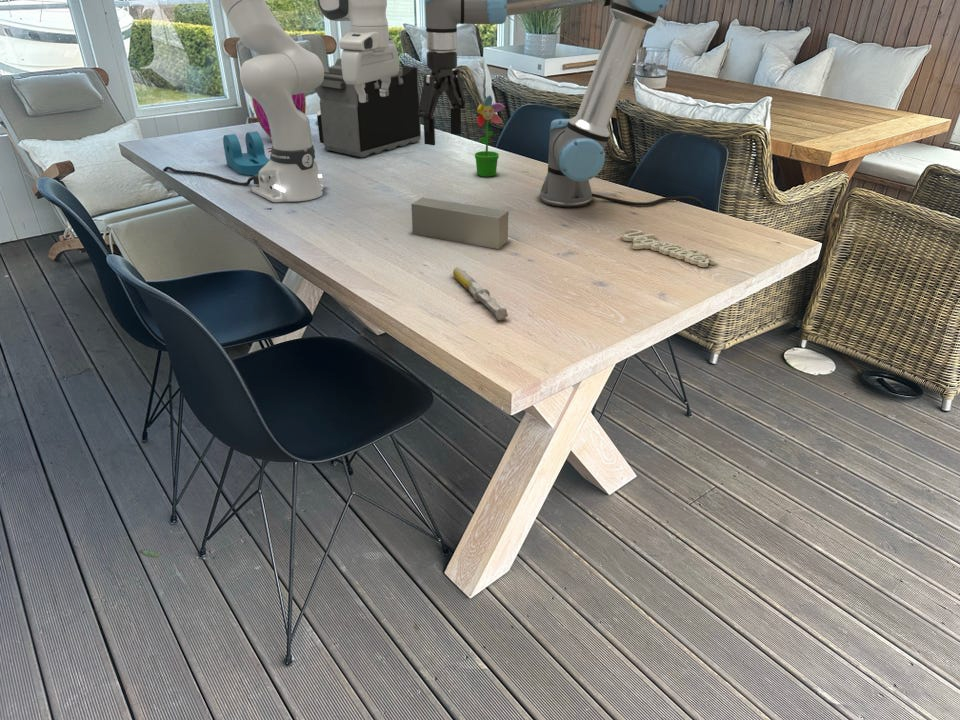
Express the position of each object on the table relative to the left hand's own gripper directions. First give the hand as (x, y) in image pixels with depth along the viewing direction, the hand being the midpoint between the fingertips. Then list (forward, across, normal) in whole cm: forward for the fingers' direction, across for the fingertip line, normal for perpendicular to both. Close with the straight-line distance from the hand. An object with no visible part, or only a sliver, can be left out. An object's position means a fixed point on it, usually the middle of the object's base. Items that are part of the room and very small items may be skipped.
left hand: (374, 99), depth 172 cm
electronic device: (+31, -68, -48) cm, 89 cm away
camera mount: (+31, -23, -66) cm, 76 cm away
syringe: (+31, +33, +45) cm, 64 cm away
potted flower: (+31, -53, +7) cm, 62 cm away
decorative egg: (+31, -61, -82) cm, 107 cm away
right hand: (+10, -10, +14) cm, 20 cm away
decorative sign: (+31, -11, +74) cm, 81 cm away
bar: (+31, +4, +26) cm, 40 cm away
